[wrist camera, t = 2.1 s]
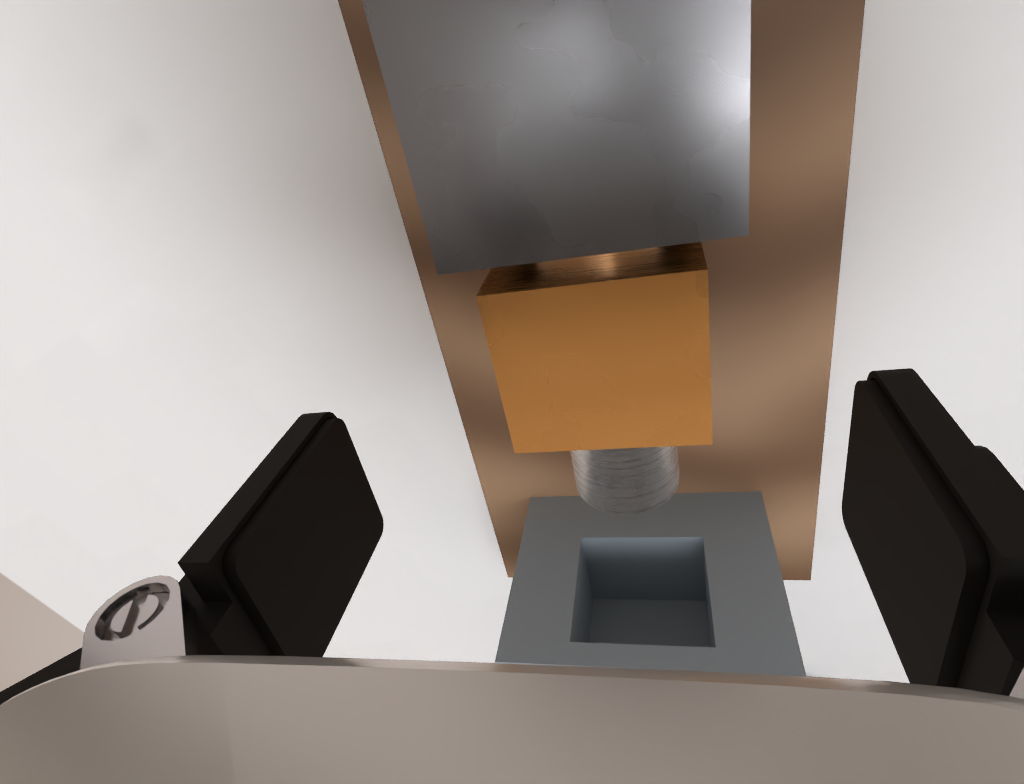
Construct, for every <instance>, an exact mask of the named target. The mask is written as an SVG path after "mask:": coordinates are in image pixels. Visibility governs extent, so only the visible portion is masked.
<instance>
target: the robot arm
mask: <svg viewBox="0 0 1024 784" xmlns="http://www.w3.org/2000/svg"><path fill="white" fill-rule="evenodd" d="M842 515H843V521H844V524H845V527H846V530H847V532H848V535H849V537H850V540H851V542H852V544H853V547H854V549H855V552H856V554H857V556H858V559H859V561H860V564H861V566H862V568H863V571H864V573H865V576H866V578H867V581H868V583H869V585H870V588H871V590H872V593H873V595H874V597H875V600H876V602H877V605H878V607H879V609H880V612H881V614H882V617H883V619H884V622H885V624H886V626H887V629H888V631H889V634H890V636H891V638H892V641H893V643H894V646H895V648H896V650H897V653H898V655H899V658H900V660H901V663H902V665H903V667H904V670H905V672H906V675H907V677H908V679H909V682H910V683H900V682H890V681H873V680H856V679H839V678H821V677H804V676H787V675H769V674H748V673H725V672H701V671H678V670H654V669H631V668H607V667H583V666H557V665H531V664H504V663H477V662H449V661H422V660H392V659H360V658H328V657H323V655H324V653H325V651H326V649H327V647H328V645H329V643H330V641H331V638H332V636H333V634H334V632H335V630H336V628H337V626H338V624H339V622H340V620H341V618H342V616H343V614H344V612H345V610H346V608H347V605H348V603H349V601H350V599H351V597H352V595H353V593H354V591H355V589H356V587H357V585H358V583H359V581H360V579H361V577H362V575H363V572H364V570H365V568H366V566H367V564H368V562H369V560H370V558H371V556H372V554H373V552H374V550H375V548H376V546H377V544H378V542H379V539H380V537H381V535H382V532H383V518H382V515H381V512H380V510H379V507H378V505H377V502H376V500H375V497H374V495H373V492H372V490H371V487H370V485H369V482H368V480H367V477H366V475H365V472H364V470H363V467H362V465H361V462H360V460H359V457H358V455H357V452H356V450H355V447H354V445H353V442H352V440H351V437H350V435H349V432H348V430H347V427H346V425H345V423H344V421H343V420H342V419H339V418H337V417H336V416H335V415H334V414H333V413H331V412H322V413H309V414H302V415H301V416H300V417H299V418H298V419H297V420H296V421H295V423H294V424H293V425H292V426H291V427H290V429H289V430H288V431H287V432H286V433H285V435H284V436H283V437H282V438H281V439H280V441H279V442H278V443H277V444H276V445H275V447H274V448H273V449H272V450H271V451H270V453H269V454H268V455H267V456H266V457H265V459H264V460H263V461H262V462H261V463H260V465H259V466H258V467H257V468H256V469H255V471H254V472H253V473H252V474H251V475H250V477H249V478H248V479H247V480H246V481H245V483H244V484H243V485H242V486H241V487H240V489H239V490H238V491H237V492H236V493H235V495H234V496H233V497H232V498H231V499H230V501H229V502H228V503H227V504H226V505H225V507H224V508H223V509H222V510H221V511H220V513H219V514H218V515H217V516H216V517H215V519H214V520H213V521H212V522H211V523H210V525H209V526H208V527H207V528H206V529H205V531H204V532H203V533H202V534H201V535H200V537H199V538H198V539H197V540H196V541H195V543H194V544H193V545H192V546H191V547H190V549H189V550H188V551H187V552H186V553H185V555H184V556H183V557H182V558H181V559H180V561H179V562H178V564H179V565H180V567H181V568H182V570H183V571H184V573H185V575H184V577H183V578H182V579H181V580H180V582H179V583H178V581H177V580H175V579H174V578H172V577H170V576H161V575H160V576H154V577H149V578H146V579H143V580H140V581H138V582H135V583H133V584H131V585H129V586H128V587H126V588H124V589H122V590H121V591H119V592H118V593H116V594H115V595H114V596H112V597H111V598H110V599H108V600H107V601H106V602H105V603H104V604H103V605H102V606H101V607H100V608H99V609H98V610H97V611H96V612H95V613H94V615H93V616H92V618H91V619H90V621H89V622H88V624H87V626H86V629H85V632H84V637H83V647H82V648H80V649H78V650H77V651H75V652H73V653H71V654H69V655H67V656H65V657H64V658H62V659H60V660H58V661H56V662H54V663H53V664H51V665H49V666H47V667H45V668H43V669H42V670H40V671H38V672H36V673H35V674H32V675H31V676H29V677H27V678H25V679H23V680H22V681H20V682H18V683H16V684H14V685H12V686H10V687H9V688H7V689H5V690H3V691H2V692H0V784H1024V490H1023V489H1022V488H1021V487H1020V485H1019V484H1018V483H1017V482H1016V480H1015V479H1014V478H1013V477H1012V476H1011V474H1010V473H1009V472H1008V471H1007V470H1006V468H1005V467H1004V466H1003V465H1002V463H1001V462H1000V461H999V460H998V459H997V457H996V456H995V455H994V454H993V453H992V452H991V451H990V450H989V449H988V448H985V447H982V446H974V445H973V443H972V442H971V441H970V440H969V438H968V437H967V436H966V435H965V433H964V432H963V431H962V429H961V428H960V427H959V426H958V424H957V423H956V422H955V421H954V419H953V418H952V417H951V416H950V414H949V413H948V412H947V411H946V409H945V408H944V407H943V406H942V404H941V403H940V402H939V400H938V399H937V398H936V397H935V395H934V394H933V393H932V392H931V390H930V389H929V388H928V387H927V385H926V384H925V383H924V382H923V380H922V379H921V378H920V377H919V375H918V374H917V373H916V372H915V371H914V370H913V369H910V368H908V369H895V370H881V371H872V372H870V373H869V375H868V378H867V380H865V381H858V382H857V383H856V385H855V390H854V399H853V408H852V417H851V427H850V436H849V445H848V454H847V463H846V472H845V481H844V490H843V499H842Z"/></svg>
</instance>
